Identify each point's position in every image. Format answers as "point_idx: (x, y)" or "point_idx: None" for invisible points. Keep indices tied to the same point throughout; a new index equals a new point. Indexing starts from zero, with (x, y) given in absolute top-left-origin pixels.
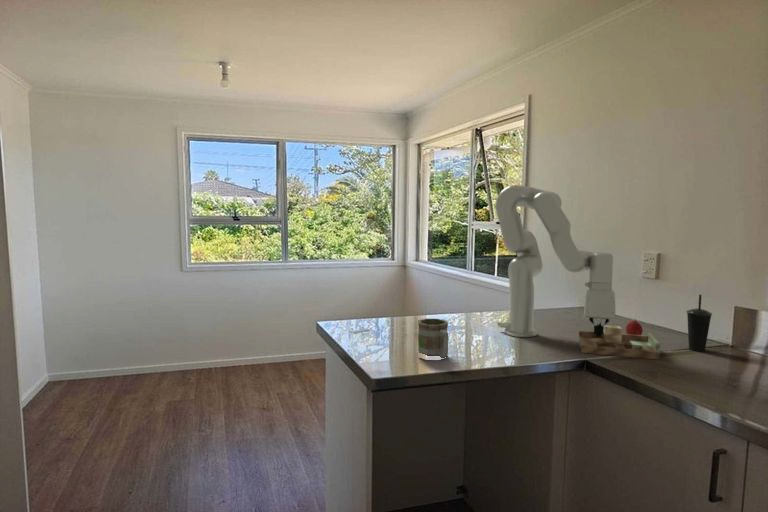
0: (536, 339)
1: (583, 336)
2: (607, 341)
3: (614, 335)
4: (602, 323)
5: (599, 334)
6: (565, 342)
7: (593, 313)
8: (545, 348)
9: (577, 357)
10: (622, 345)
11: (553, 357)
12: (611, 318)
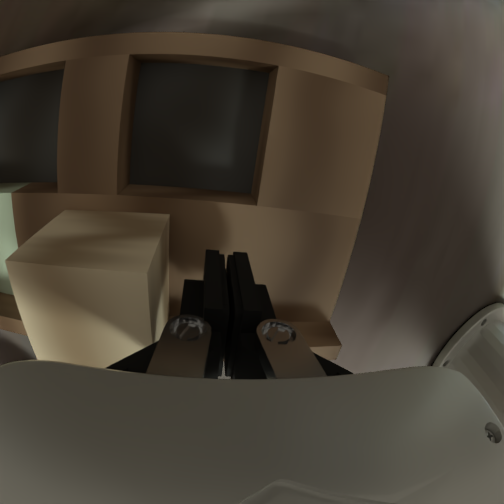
0: (467, 296)
1: (305, 322)
2: (158, 216)
3: (89, 235)
4: (192, 341)
5: (221, 260)
6: (383, 286)
7: (411, 428)
8: (490, 161)
9: (398, 3)
10: (65, 145)
11: (481, 28)
12: (39, 361)
